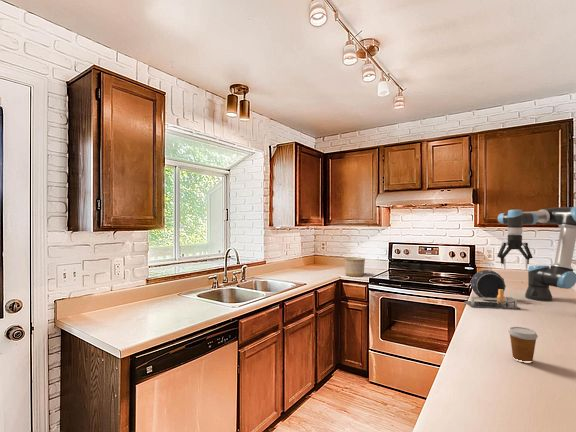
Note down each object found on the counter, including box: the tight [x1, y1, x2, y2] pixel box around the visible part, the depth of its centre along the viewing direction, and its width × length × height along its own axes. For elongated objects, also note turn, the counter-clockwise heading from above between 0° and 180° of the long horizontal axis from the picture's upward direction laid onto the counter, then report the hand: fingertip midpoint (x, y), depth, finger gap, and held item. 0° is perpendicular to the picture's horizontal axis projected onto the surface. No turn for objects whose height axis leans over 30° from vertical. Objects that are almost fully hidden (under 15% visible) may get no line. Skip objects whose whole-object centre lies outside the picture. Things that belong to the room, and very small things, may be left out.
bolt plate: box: [464, 300, 521, 311], centre depth 213 cm, size 28×12×1 cm, turn 81°
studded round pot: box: [470, 269, 507, 298], centre depth 229 cm, size 11×20×20 cm, turn 78°
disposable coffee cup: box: [508, 326, 539, 361], centre depth 133 cm, size 10×10×12 cm
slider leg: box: [496, 289, 506, 304], centre depth 210 cm, size 3×6×10 cm, turn 172°
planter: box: [344, 256, 366, 278], centre depth 319 cm, size 19×19×16 cm
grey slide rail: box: [470, 296, 518, 307], centre depth 211 cm, size 26×5×7 cm, turn 81°
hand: (514, 269), depth 208 cm, fingers open, 12 cm apart
